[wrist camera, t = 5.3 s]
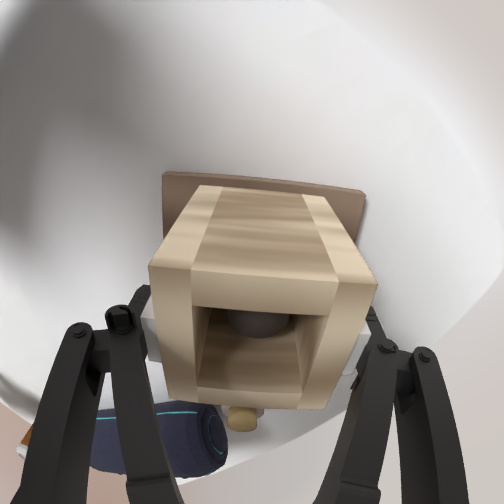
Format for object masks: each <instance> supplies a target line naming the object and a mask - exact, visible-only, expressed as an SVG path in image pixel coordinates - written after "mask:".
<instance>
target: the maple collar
mask: <svg viewBox="0 0 504 504" xmlns="http://www.w3.org/2000/svg"><path fill="white" fill-rule="evenodd" d="M148 270H149V279H150V288H151V296H152V304H153V311H154V318H155V324H156V331H157V337H158V343H159V349H160V354H161V360H162V365H163V370H164V375H165V380H166V385H167V390H168V394H169V399H175V400H182V401H189V402H196V403H204V404H213V405H223V406H234V407H248V408H267V409H324V408H325V406H326V404H327V402H328V400H329V398H330V396H331V394H332V392H333V390H334V388H335V386H336V384H337V382H338V380H339V378H340V376H341V374H342V372H343V369H344V367H345V365H346V363H347V361H348V358H349V356H350V354H351V352H352V349H353V347H354V345H355V342H356V340H357V338H358V335H359V333H360V330H361V328H362V325H363V323H364V320H365V318H366V315H367V313H368V310H369V308H370V305H371V302H372V300H373V297H374V294H375V291H376V289H377V286H378V284H377V282H376V280H375V278H374V277H373V275H372V273H371V271H370V270H369V268H368V266H367V264H366V263H365V261H364V259H363V258H362V256H361V254H360V253H359V251H358V249H357V248H356V246H355V244H354V243H353V241H352V239H351V238H350V236H349V235H348V233H347V231H346V230H345V228H344V227H343V225H342V223H341V222H340V220H339V219H338V217H337V216H336V214H335V213H334V211H333V210H332V208H331V206H330V205H329V203H328V202H327V200H326V199H325V197H321V196H313V195H305V194H296V193H287V192H278V191H268V190H257V189H246V188H234V187H220V186H206V185H200V186H199V187H198V189H197V190H196V192H195V193H194V194H193V196H192V197H191V199H190V200H189V202H188V203H187V205H186V206H185V208H184V209H183V211H182V212H181V214H180V215H179V217H178V218H177V220H176V222H175V223H174V225H173V226H172V228H171V229H170V231H169V232H168V234H167V236H166V237H165V239H164V240H163V242H162V243H161V245H160V247H159V248H158V250H157V252H156V253H155V255H154V256H153V258H152V260H151V261H150V263H149V265H148ZM228 309H234V310H245V311H258V312H271V313H286V314H289V320H288V323H287V325H286V326H285V327H284V328H283V330H281V331H280V332H279V333H277V334H275V335H273V336H271V337H267V338H250V337H246V336H243V335H241V334H239V333H238V332H236V331H235V330H234V329H233V328H232V327H231V325H230V324H229V322H228V318H227V311H228Z"/></svg>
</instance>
